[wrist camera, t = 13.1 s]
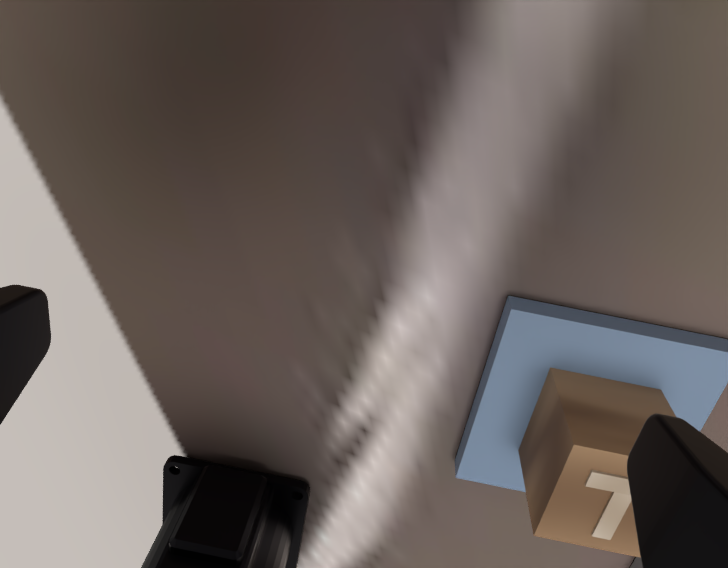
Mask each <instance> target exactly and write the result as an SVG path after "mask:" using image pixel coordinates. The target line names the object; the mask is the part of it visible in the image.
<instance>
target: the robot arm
mask: <svg viewBox="0 0 728 568" xmlns="http://www.w3.org/2000/svg"><path fill="white" fill-rule="evenodd" d="M50 342H51V331H50V320H49V310H48V300H47V296H46V294H45V293H44V292H43V291H42V290H40V289H36V288H31V287H26V286H21V285H10V286H6V287H2V288H0V424H1V423H2V421H3V420H4V418H5V417H6V415H7V413H8V412H9V411H10V409H11V407H12V406H13V404H14V403H15V401H16V400H17V398H18V397H19V395H20V394H21V392H22V390H23V389H24V387H25V386H26V384H27V383H28V381H29V380H30V378H31V377H32V375H33V373H34V372H35V370H36V369H37V367H38V366H39V364H40V363H41V361H42V360H43V358H44V357H45V355H46V353H47V351H48V349H49V346H50ZM176 467H178V468H176ZM163 471H164V472H163V525H162V527H161V529H160V531H159V533H158V535H157V537H156V539H155V541H154V543H153V545H152V547H151V549H150V551H149V553H148V555H147V557H146V559H145V561H144V563H143V565H142V567H141V568H297V563H298V557H299V552H300V546H301V540H302V534H303V529H304V523H305V517H306V512H307V506H308V500H309V495H310V487H309V486H308V484H306V483H305V482H302V481H299V480H294V479H289V478H285V477H280V476H275V475H270V474H265V473H260V472H255V471H250V470H246V469H241V468H236V467H231V466H226V465H221V464H216V463H212V462H207V461H202V460H197V459H192V458H187V457H182V456H175V455H174V456H171V457H169V458H168V460H167V461H166V463H165V465H164V469H163ZM627 475H628V481H629V488H630V494H631V500H632V507H633V513H634V519H635V526H636V532H637V538H638V545H639V551H640V557H641V562H642V567H643V568H728V453H727V452H726V451H725V450H723V449H722V448H721V447H719V446H718V445H717V444H715V443H714V442H713V441H711V440H710V439H709V438H707V437H706V436H705V435H704V434H702V433H701V432H700V431H698V430H697V429H696V428H694V427H693V426H692V425H690V424H689V423H688V422H686V421H685V420H683V419H681V418H678V417H673V416H668V415H663V414H658V413H655V414H653V415H650V416H649V417H648V418H647V420H646V421H645V423H644V425H643V427H642V429H641V431H640V433H639V435H638V437H637V439H636V441H635V443H634V445H633V447H632V449H631V451H630V453H629V456H628V460H627ZM297 492H300V493H297Z"/></svg>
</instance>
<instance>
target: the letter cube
mask: <svg viewBox="0 0 728 568" xmlns="http://www.w3.org/2000/svg"><path fill="white" fill-rule="evenodd" d="M655 413H658V414H663V415H668V416H673V417H676V415H675V414H674V412H673V410H672V408H671V406H670V405H669V403H668V401H667V399H666V398H665V396H664V394H663V392H662V390H661V389H656V388H651V387H646V386H641V385H636V384H631V383H626V382H621V381H616V380H611V379H606V378H601V377H596V376H591V375H586V374H581V373H576V372H571V371H566V370H561V369H556V368H551V367H550V369H549V372H548V375H547V377H546V380H545V382H544V385H543V388H542V390H541V393H540V395H539V398H538V401H537V403H536V406H535V408H534V411H533V413H532V416H531V419H530V421H529V424H528V426H527V429H526V432H525V434H524V437H523V439H522V442H521V445H520V447H519V450H518V452H519V458H520V463H521V468H522V474H523V479H524V485H525V490H526V496H527V501H528V507H529V512H530V518H531V523H532V529H533V534H534V536H538V537H542V538H547V539H552V540H557V541H562V542H567V543H572V544H577V545H582V546H586V547H591V548H596V549H601V550H606V551H611V552H616V553H621V554H625V555H630V556H635V557H640V551H639V545H638V538H637V532H636V526H635V519H634V513H633V507H632V500H631V494H630V488H629V481H628V475H627V460H628V456H629V453H630V451H631V449H632V447H633V445H634V443H635V441H636V439H637V437H638V435H639V433H640V431H641V429H642V427H643V425H644V423H645V421H646V420H647V418H648V417H649V416H650V415H653V414H655ZM640 558H641V557H640Z"/></svg>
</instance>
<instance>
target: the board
mask: <svg viewBox="0 0 728 568" xmlns="http://www.w3.org/2000/svg"><path fill="white" fill-rule="evenodd" d="M550 367H551V368H556V369H561V370H566V371H571V372H576V373H581V374H586V375H591V376H596V377H601V378H606V379H611V380H616V381H621V382H626V383H631V384H636V385H641V386H646V387H651V388H656V389H661V390H662V392H663V394H664V396H665V398H666V399H667V401H668V403H669V405H670V406H671V408H672V410H673V412H674V414H675V415H676V417H678V418H681V419H683V420H685V421H686V422H688V423H689V424H690V425H692V426H693V427H694V428H696V429H697V430H698V431H700V430H701V429H702V427H703V425H704V423H705V422H706V420H707V418H708V416H709V415H710V413H711V411H712V409H713V408H714V406H715V404H716V402H717V400H718V399H719V397H720V395H721V393H722V392H723V390H724V388H725V386H726V385H727V383H728V339H724V338H719V337H714V336H709V335H704V334H699V333H694V332H689V331H684V330H679V329H674V328H669V327H664V326H659V325H654V324H649V323H644V322H639V321H634V320H629V319H624V318H619V317H613V316H608V315H603V314H598V313H593V312H588V311H583V310H578V309H573V308H568V307H563V306H558V305H553V304H548V303H543V302H538V301H533V300H528V299H523V298H518V297H513V296H508V297H507V301H506V304H505V307H504V310H503V313H502V316H501V319H500V322H499V325H498V328H497V331H496V335H495V338H494V341H493V344H492V347H491V350H490V353H489V356H488V359H487V362H486V365H485V369H484V372H483V375H482V378H481V381H480V384H479V387H478V390H477V393H476V396H475V399H474V403H473V406H472V409H471V412H470V415H469V418H468V421H467V424H466V427H465V430H464V433H463V437H462V440H461V443H460V446H459V449H458V452H457V455H456V458H455V473H456V478H460V479H465V480H469V481H474V482H479V483H484V484H489V485H494V486H499V487H504V488H508V489H513V490H518V491H523V492H526V490H525V485H524V479H523V474H522V468H521V463H520V458H519V452H518V450H519V447H520V445H521V442H522V439H523V437H524V434H525V432H526V429H527V426H528V424H529V421H530V419H531V416H532V413H533V411H534V408H535V406H536V403H537V401H538V398H539V395H540V393H541V390H542V388H543V385H544V382H545V380H546V377H547V375H548V372H549V369H550Z"/></svg>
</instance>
